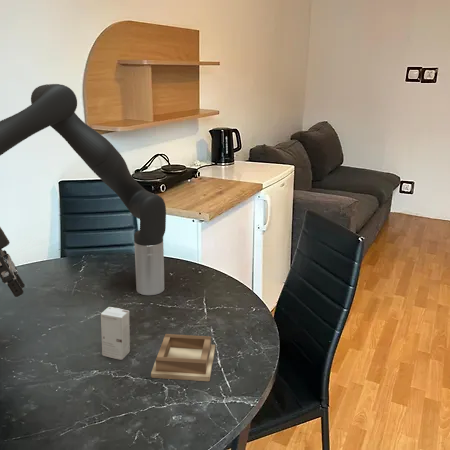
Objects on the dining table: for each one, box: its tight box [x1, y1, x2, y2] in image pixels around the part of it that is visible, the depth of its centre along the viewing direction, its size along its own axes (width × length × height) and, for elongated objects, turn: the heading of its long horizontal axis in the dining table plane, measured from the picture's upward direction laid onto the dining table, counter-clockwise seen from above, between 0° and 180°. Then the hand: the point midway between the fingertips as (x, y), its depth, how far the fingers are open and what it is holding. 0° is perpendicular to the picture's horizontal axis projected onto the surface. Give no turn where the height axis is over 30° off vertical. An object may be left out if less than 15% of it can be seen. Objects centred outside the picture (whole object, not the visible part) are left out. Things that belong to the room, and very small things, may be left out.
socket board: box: [150, 333, 216, 382], centre depth 119 cm, size 14×14×4 cm
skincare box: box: [100, 306, 131, 361], centre depth 121 cm, size 6×4×12 cm
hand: (20, 291), depth 117 cm, fingers open, 8 cm apart
